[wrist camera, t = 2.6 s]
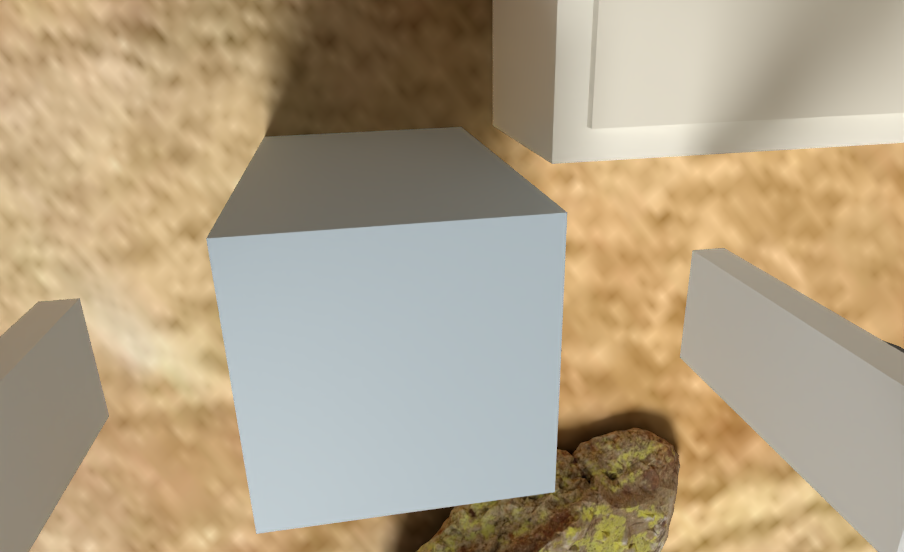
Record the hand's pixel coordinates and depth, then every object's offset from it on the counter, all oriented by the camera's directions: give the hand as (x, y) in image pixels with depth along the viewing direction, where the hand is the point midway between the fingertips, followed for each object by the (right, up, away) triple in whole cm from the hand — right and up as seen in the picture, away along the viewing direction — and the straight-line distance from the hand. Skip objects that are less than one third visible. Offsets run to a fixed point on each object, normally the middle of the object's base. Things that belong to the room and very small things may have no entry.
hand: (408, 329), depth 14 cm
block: (-2, +3, +7) cm, 8 cm away
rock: (+5, -10, +14) cm, 18 cm away
